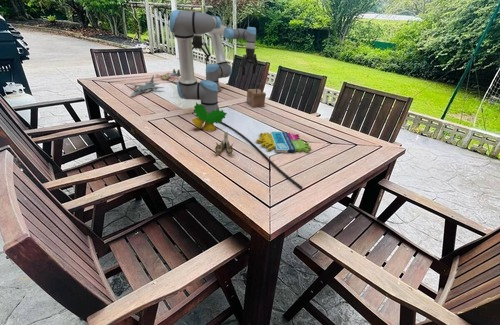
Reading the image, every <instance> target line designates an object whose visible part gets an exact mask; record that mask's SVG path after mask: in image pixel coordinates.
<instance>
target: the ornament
mask: <svg viewBox="0 0 500 325" xmlns="http://www.w3.org/2000/svg"><path fill="white" fill-rule="evenodd" d="M219 110H220V108H219V109H217V110H216V111H214V110H212V112H211V113H208V112H206V109H204V106H201V103H198V102H195V105H194V106H193V112H194V113H195V118H192V119H191V122H192V123H193V125H195V127H197V128H198V129H202V130H203V131H206V132H212V131H213V132H214V131H215V130H216V126H215V124H218V123H220V122H219V121H221V122H223V119H226V115H227V114H228V113H227V112H224V110H223V109H221V110H220V111H219ZM207 113H208V115H207ZM214 123H215V124H214Z"/></svg>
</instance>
